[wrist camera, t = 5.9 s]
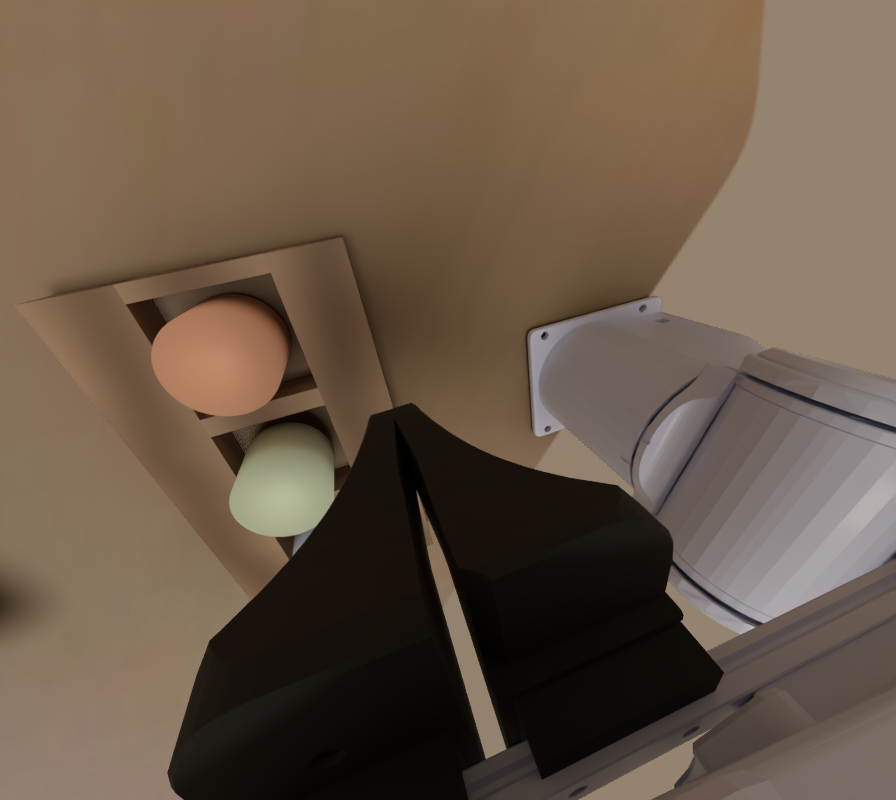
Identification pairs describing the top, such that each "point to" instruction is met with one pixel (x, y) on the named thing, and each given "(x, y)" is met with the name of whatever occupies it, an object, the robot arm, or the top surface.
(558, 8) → the top surface
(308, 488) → the sage button
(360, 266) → the top surface
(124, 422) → the wooden compartment tray
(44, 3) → the top surface
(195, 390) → the orange rounded lump
